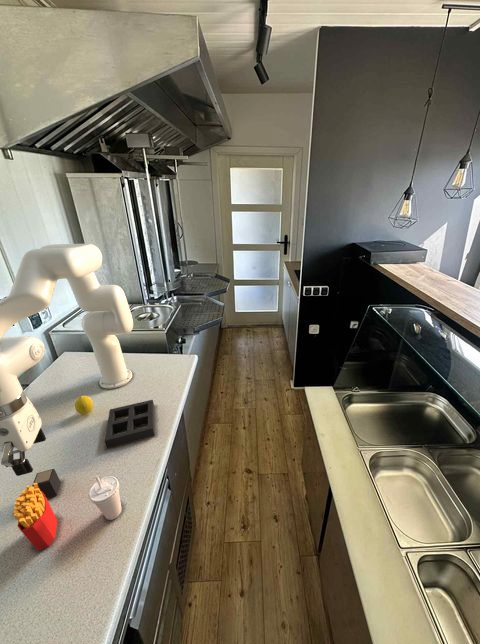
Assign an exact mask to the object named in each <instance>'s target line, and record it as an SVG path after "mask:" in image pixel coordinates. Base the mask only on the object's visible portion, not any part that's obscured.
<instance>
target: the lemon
mask: <svg viewBox="0 0 480 644" xmlns="http://www.w3.org/2000/svg"><path fill="white" fill-rule="evenodd" d="M74 409H75V411H76V413H78V414H79V415H82V416H86V415H88V414H90V413H91V412H92V411H93V409H94V401H93V400H92V398H91V397H90V396H88V395H81V396H79V397H77V398H76V400H75V401H74Z"/></svg>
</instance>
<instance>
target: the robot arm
mask: <svg viewBox="0 0 480 644" xmlns="http://www.w3.org/2000/svg"><path fill="white" fill-rule="evenodd" d="M102 264H103V254H102V251H101V250H100V248H99V247H98V246H97V245H95V244H93V243H58V244H57V243H56V244H55V243H54V244H47V245H44V246H41V247H40V248H34V249H30V250H28V251H27V252H26V253H24V255H23V256H22V259H21V261H20V264H19V267H18V270H17V272H16V275H15V278H14V281H13V284H12V286H11V289H10V292H9V294H8V296H6V297H5V298H4V299H2V300H1V301H0V450H1V452H2V456H1V460H0V464H1V466H4V467H5V468H11V469H12V471H13V472H14V474H15V475H16V477H19V476H23V475H27V474H28V475H29V474H32V473H33V471H34V468H33V466H32V465H31V462H30V461H29V459H28V458H26V452H27V451H29V450H31V448H32V447H33V445H34V444H39V443H42V442H45V441H46V440H47V438H46V435H45V433H44V431H43V429H42V424H43V421H42V419H41V417H40V414H39V413H38V410H37V407H35V406H34V404H33V403H32V401H31V400H30V399H29V398H28V397H27V395H26V394H25V390H23V389H24V388H23V387H22V385H21V382H20V381H19V379H18V375H20V374H23V372H25V371H27V370H29V369H31V368H33V367H34V366H35V365H37V364H38V363H39V362H41V360H42V359H43V358H44V355H45V352H46V348H45V347H46V346H45V344H44V343H43V341H42V340H41V339H39V338H38V337H36V336H27V335H26V336H24V335H23V336H5V337H4V335H6V333H7V332H8V330H9V329H11V327H13V326H14V325H15V324H17V323H19V322H20V321H23V320H25V319H27V318H30V317H31V316H34V315H36V314H38V313H40V312H42V311H44V310H46V309H48V308H49V307H50V306H51V302H52V299H53V295H54V291H55V288H56V284H57V281H58V280H63V279H64V280H67V283H68V284H69V286H70V288H71V291H72V294H73V296H74V299H75V301H76V303H77V305H78V307H79V308H80V310H81V311H83V312H87V313H86V314H84V315H83V317H82V319H81V328H82V330H83V332H84V333H85V335H86V337H87V339H88V340H89V343H90V345H91V348H92V350H93V354H94V357H95V360H96V363H97V366H98V369H99V372H100V375H101V377H100V378H99V381H98V383H99V385H100V387H101V388H103V389H106V390H112V389H113V390H114V389H117V388H120V387H122V386H125V385H126V384H128V383H129V382H130V381H131V380H132V378H133V372H132V371H131V370H130V369H128V368H127V366H126V362H125V358H124V355H123V351H122V347H121V344H120V341H119V339H118V337H117V336H120V335H128V334H129V333H131V332H132V330H133V329H134V320H133V316H132V312H131V309H130V305H129V302H128V299H127V296H126V293H125V291H124V289H123V288H122V287H121V286H119V285H117V284H100V283H99V281H98V279H97V276H96V273H95V272H97V271H98V270H99V269H100V268H101V267H102ZM14 448H15V449H16V450H14ZM14 454H19V458H14V457H15V456H14Z"/></svg>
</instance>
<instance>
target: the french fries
mask: <svg viewBox="0 0 480 644" xmlns="http://www.w3.org/2000/svg"><path fill="white" fill-rule="evenodd" d="M33 484H34V487H35V489H34V487H32V485H33ZM32 485H30V484H29V485H28V484H27V485H26V486H25V489H23V490H22V492H21V493H19V497H18V496H17V497H16V499H15V502H14V508H13V517H14V518H15V519H16V521H17V528H18V529H19V530H20V532H21V533H22V535H24V536H25V537H26V539H27V540H28V541H29V543H30V544H31V545H32V546H33V547H34V549H36V550H37V551H40V550H44V549H46V548H48V547H50V545H51V544H52V543H53V541H54V540H55V538H56V534H57V528H58V519H57V517H56V514H55V512H54V511H53V508H52V506H51V505H50V502H49V500H48V498H46V496H45V494H44V493H43V492H42V491H40V489H39V488H38V485H37V483H33V482H32Z"/></svg>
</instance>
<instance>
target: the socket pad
mask: <svg viewBox="0 0 480 644" xmlns="http://www.w3.org/2000/svg"><path fill="white" fill-rule="evenodd" d="M155 414H156V413H155V404H154V399H150V400H145V401H140V402H135V403H132V404H127V405H122V406H118V407H114V408H110V409H109V412H108V417H107V422H106V428H105V434H104V440H103V443H104V444H105V447H106V449H112V448H116V447H119V446H122V445H127V444H130V443H133V442H137V441H141V440H145V439H149V438H153V437H156V427H155V426H156V424H155V423H156V422H155V421H156V419H155V417H156V415H155ZM144 425H147V426H144ZM141 426H144V427H141ZM137 427H138V428H137ZM125 430H126V431H125ZM121 431H123V432H121ZM117 432H119V433H117Z"/></svg>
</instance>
